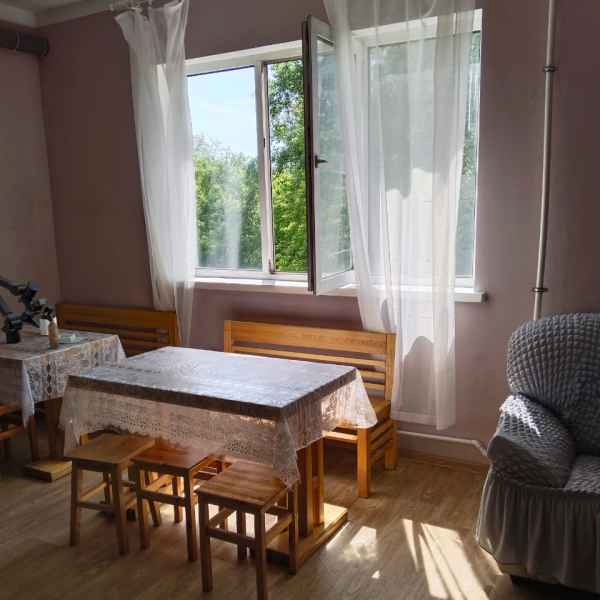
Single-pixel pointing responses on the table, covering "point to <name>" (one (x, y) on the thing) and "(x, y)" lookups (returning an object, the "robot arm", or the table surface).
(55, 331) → the pepper mill
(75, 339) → the well board
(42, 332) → the jar
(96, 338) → the table surface
